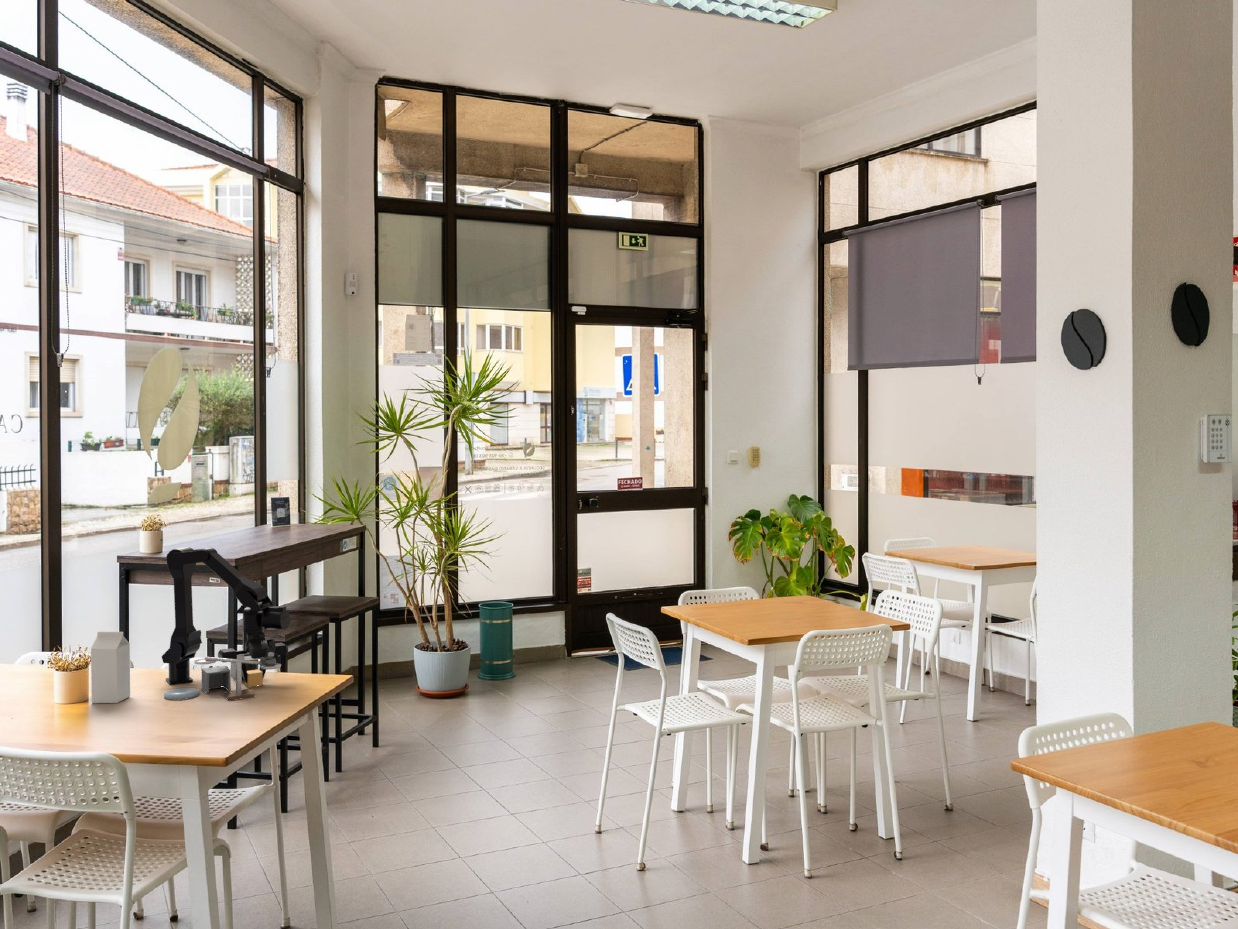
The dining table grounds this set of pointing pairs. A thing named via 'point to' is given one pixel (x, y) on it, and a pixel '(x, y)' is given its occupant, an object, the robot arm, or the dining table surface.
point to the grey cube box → (216, 678)
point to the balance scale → (240, 674)
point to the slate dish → (181, 693)
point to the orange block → (254, 678)
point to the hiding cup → (248, 666)
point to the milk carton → (110, 668)
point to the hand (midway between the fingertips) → (253, 681)
